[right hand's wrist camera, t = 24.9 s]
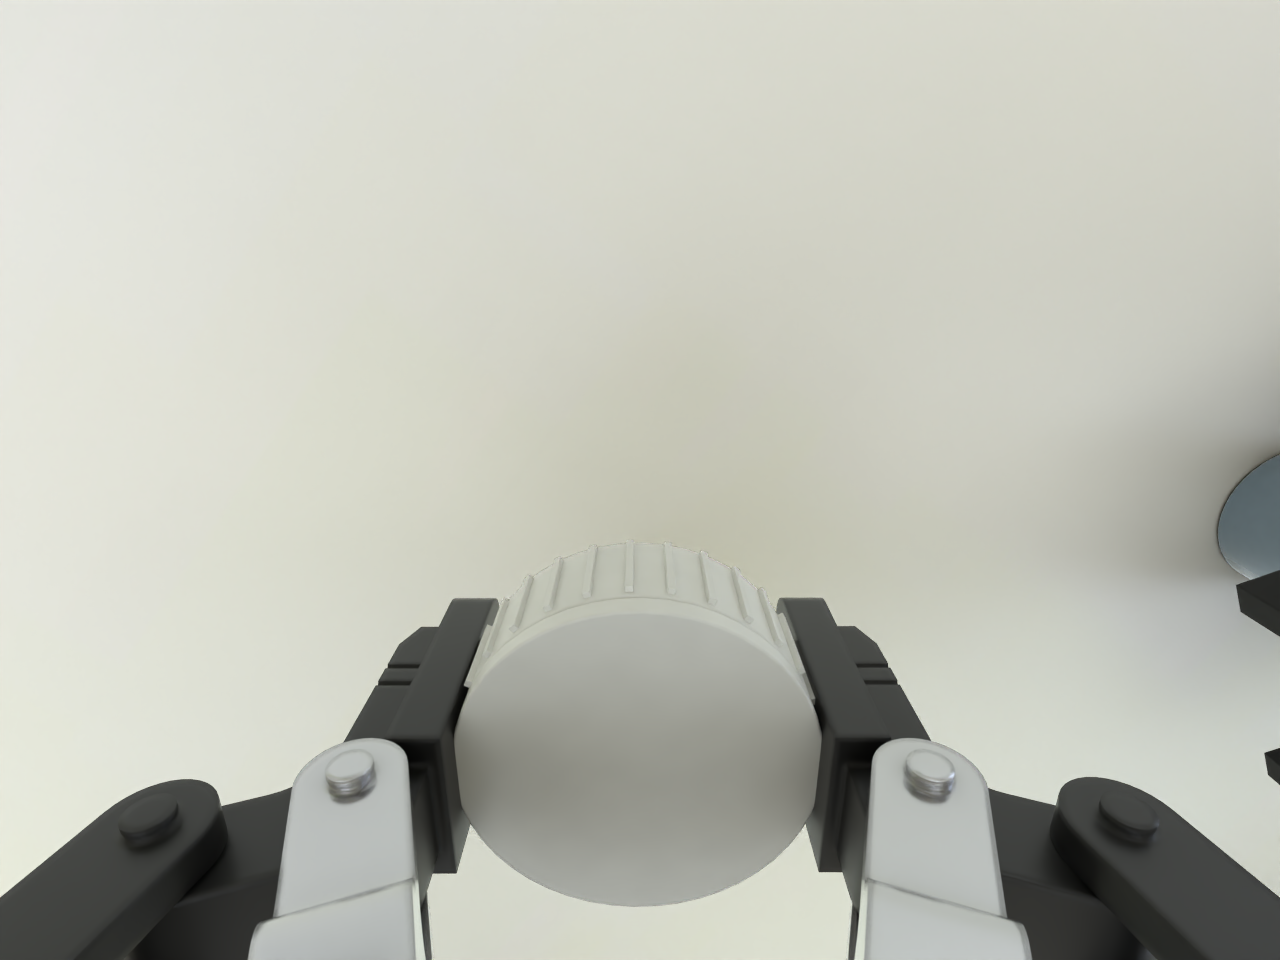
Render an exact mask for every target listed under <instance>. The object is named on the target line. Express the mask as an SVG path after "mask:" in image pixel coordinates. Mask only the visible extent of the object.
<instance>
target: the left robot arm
mask: <svg viewBox="0 0 1280 960" xmlns="http://www.w3.org/2000/svg"><path fill="white" fill-rule="evenodd" d="M1236 587H1237V593H1238V599H1239V605H1240V611H1241V612H1242V613H1244V614H1245V615H1247V616H1248V617H1250V618H1251V619H1253V620H1255V621H1256V622H1258V623H1259V624H1261V625H1262V626H1264V627H1266V628H1267V629H1269V630H1270V631H1272V632H1273V633H1275V634H1277V635H1278V636H1280V570H1278V571H1275V572H1272V573H1269V574H1266V575H1263V576H1261V577H1258V578H1255V579H1252V580H1249V581H1246V582H1243V583H1241V584H1238V585H1236ZM1265 759H1266V765H1267V771H1268V775H1269V776H1270V777H1271V778H1272V779H1274V780H1275V781H1276V782H1277V783H1278V784H1279V785H1280V748H1278V749H1275V750H1272V751H1269V752H1266V753H1265Z"/></svg>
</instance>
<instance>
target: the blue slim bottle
mask: <svg viewBox="0 0 1280 960" xmlns="http://www.w3.org/2000/svg"><path fill="white" fill-rule="evenodd" d="M1218 541H1219V547H1220V549H1221V552H1222V554H1223V556H1224V558H1225V560H1226V561H1227V562H1228V564H1229V565H1230V566H1231V567H1232V568H1233V569H1234V570H1236V571H1237V572H1238V573H1240V574H1242V575H1243V576H1245V577H1247V578H1249V579H1250V580H1252V579H1255V578H1258V577H1261V576H1263V575H1266V574H1269V573H1272V572H1275V571H1278V570H1280V454H1279V455H1277V456H1275V457H1273V458H1271V459H1269V460H1267V461H1266V462H1264V463H1263V464H1261V465H1260V466H1258V467H1257V468H1256V469H1254V470H1253V471H1252V472H1250V473H1249V474H1248V475H1247V476H1246V477H1245V478H1244V479H1243V480H1242V481H1241V482H1240V483H1239V484H1238V486H1237V487H1236V488H1235V489H1234V491H1233V492H1232V494H1231V495H1230V497H1229V498H1228V500H1227V502H1226V504H1225V506H1224V508H1223V510H1222V513H1221V516H1220V520H1219V525H1218Z"/></svg>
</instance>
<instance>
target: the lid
mask: <svg viewBox="0 0 1280 960" xmlns="http://www.w3.org/2000/svg"><path fill="white" fill-rule="evenodd" d="M464 686H466V687H469V690H468V693H467V696H466V698H465V701H464V704H463V707H462V709H461V712H460V715H459V718H458V721H457V724H456V727H455V731H454V747H455V756H456V765H457V773H458V782H459V790H460V798H461V805H462V808H463V810H464V812H465V814H466V816H467V818H468V820H469V822H470V824H471V825H472V827H473V828H474V829H475V831H476V832H477V834H478V835H479V836H480V838H481V839H482V840H483V841H484V842H485V844H486V845H487V846H488V847H489V848H490V849H491V850H492V851H493V852H494V853H495V854H496V855H497V856H498V857H499V858H501V859H502V860H503V861H504V862H505V863H507V864H508V865H509V866H510V867H512V868H513V869H515V870H516V871H518V872H519V873H521V874H522V875H524V876H525V877H527V878H528V879H530V880H532V881H534V882H536V883H538V884H540V885H542V886H544V887H546V888H548V889H551V890H554V891H556V892H559V893H562V894H564V895H567V896H570V897H574V898H578V899H581V900H585V901H589V902H595V903H601V904H607V905H615V906H631V907H641V906H660V905H668V904H676V903H681V902H686V901H690V900H695V899H699V898H702V897H705V896H708V895H711V894H714V893H717V892H720V891H723V890H725V889H727V888H729V887H731V886H734V885H736V884H738V883H740V882H742V881H744V880H745V879H747V878H749V877H750V876H752V875H754V874H755V873H757V872H759V871H760V870H761V869H763V868H764V867H765V866H767V865H768V864H769V863H771V862H772V861H773V860H774V859H775V858H777V857H778V856H779V855H780V854H781V853H782V852H783V851H784V850H785V849H786V848H787V847H788V846H789V845H790V844H791V842H792V841H793V840H794V839H795V837H796V836H797V835H798V834H799V832H800V831H801V830H802V828H803V826H804V825H805V823H806V821H807V820H808V818H809V816H810V814H811V813H812V810H813V808H814V803H815V796H816V787H817V778H818V769H819V760H820V752H821V742H822V732H821V728H820V724H819V721H818V717H817V714H816V711H815V709H814V706H813V705H815V696H814V694H813V691H812V688H811V685H810V683H809V680H808V677H807V674H806V672H805V669H804V666H803V664H802V661H801V658H800V655H799V653H798V650H797V647H796V644H795V642H794V640H793V637H792V634H791V631H790V629H789V626H788V623H787V621H786V618H785V616H784V614H783V613H780V614H777V613H776V611H775V610H774V608H773V607H772V605H771V604H770V602H769V599H768V596H767V593H766V591H765V590H764V589H763V588H762V587H761V588H760V589H757V588H756V587H755V586H754V585H752V584H751V583H750V582H749V581H748V580H747V579H745V578H744V577H743V576H742V575H741V573H740V569H738V568H737V567H735V566H734V567H733V568H732V569H731V568H729V567H728V566H726V565H724V564H722V563H720V562H718V561H716V560H714V559H712V558H710V557H708V553H707V552H704V551H702V550H701V551H700V553H697V552H694V551H691V550H688V549H684V548H679V547H674V546H672V543H671V542H664V544H653V543H634V540H626V543H620V544H614V545H607V546H601V547H597V546H596V545H591V546H589V550H586V551H582V552H579V553H576V554H574V555H572V556H569V557H567V558H564V559H562V558H561V556H560V557H558V558H556V559H554V563H553V564H552V565H551V566H549V567H547V568H545V569H544V570H542V571H540V572H539V573H538V574H536V575H535V576H534V577H532V576H531V575H528V576H527V577H526V578H525V579H524V582H523V585H522V587H521V588H520V589H519V590H518V591H517V592H516V593H515V594H514V595H513V596H512V597H511V598H510V599H509V600H508V599H507V598H504V599H503V601H502V602H501V604H500V607H499V610H498V612H497V615H496V618H495V621H494V624H493V626H490V625H487V626H486V628H485V631H484V633H483V636H482V639H481V641H480V644H479V647H478V649H477V652H476V655H475V657H474V660H473V662H472V665H471V668H470V670H469V673H468V676H467V678H466V681H465V684H464Z"/></svg>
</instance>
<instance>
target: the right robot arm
mask: <svg viewBox="0 0 1280 960" xmlns="http://www.w3.org/2000/svg"><path fill="white" fill-rule="evenodd" d="M498 610H499V603H498V600H497V599H496V598H455V599H453V600H452V602H451V603H450V605H449V607H448V609H447V611H446V614H445V616H444V618H443V620H442V622H441V624H440V626H439V627H421V628H419V629H418V630H417V631H416V632H414V633H413V634H412V635H411V636H409V637H408V638H407V639H405V640H404V641H403V642H402V643H400V644H399V646H398V648H397V649H396V651H395V653H394V655H393V656H392V658H391V660H390V662H389V663H388V668H386V669H385V670H384V672H383V674H382V676H381V677H380V679H379V681H378V686H375V688H374V690H373V691H372V693H371V695H370V697H369V699H368V700H367V702H366V704H365V706H364V707H363V709H362V711H361V713H360V714H359V716H358V718H357V720H356V721H355V723H354V725H353V727H352V728H351V730H350V732H349V734H348V735H347V737H346V739H345V741H344V742H343V743H341V744H339V745H336V746H333V747H331V748H329V749H327V750H325V751H324V752H322V753H321V754H319V755H317V756H316V757H315V758H313V759H312V760H311V761H310V762H309V763H308V764H307V765H306V766H305V767H304V768H303V769H302V770H301V771H300V773H299V774H298V775H297V777H296V779H295V781H294V783H293V787H291V788H288V789H286V790H283V791H281V792H277V793H274V794H270V795H266V796H262V797H258V798H254V799H250V800H245V801H241V802H237V803H233V804H229V805H225V806H221V803H220V800H219V796H218V794H217V791H216V790H215V789H214V788H213V786H211V785H210V784H208V783H206V782H203V781H200V780H193V779H181V780H173V781H168V782H164V783H160V784H157V785H154V786H150V787H148V788H145V789H143V790H141V791H138V792H136V793H134V794H132V795H130V796H128V797H126V798H125V799H123V800H121V801H120V802H118V803H117V804H115V805H114V806H112V807H111V808H110V809H108V810H107V811H106V812H104V813H103V814H102V815H101V816H99V817H98V818H97V819H96V820H94V821H93V822H92V823H91V824H90V825H88V826H87V827H86V828H85V829H83V830H82V831H81V832H80V833H79V834H77V835H76V836H75V837H74V838H72V839H71V840H70V841H69V842H68V843H66V844H65V845H64V846H63V847H62V848H60V849H59V850H58V851H57V852H55V853H54V854H53V855H52V856H51V857H49V858H48V859H47V860H46V861H44V862H43V863H42V864H41V865H40V866H38V867H37V868H36V869H35V870H33V871H32V872H31V873H30V874H29V875H27V876H26V877H25V878H24V879H22V880H21V881H20V882H19V883H18V884H16V885H15V886H14V887H13V888H11V889H10V890H9V891H8V892H7V893H5V894H4V895H3V896H2V897H0V960H434V954H433V942H432V929H431V917H430V909H429V902H428V895H427V889H428V886H429V883H430V880H431V877H432V874H433V873H457V870H458V866H459V863H460V859H461V855H462V852H463V848H464V845H465V841H466V838H467V834H468V831H469V827H470V822H469V820H468V818H467V816H466V814H465V812H464V810H463V808H462V805H461V798H460V790H459V782H458V773H457V765H456V756H455V747H454V731H455V727H456V724H457V721H458V718H459V715H460V712H461V709H462V707H463V704H464V701H465V698H466V696H467V693H468V690H469V687H466V686H464V684H465V681H466V678H467V676H468V673H469V670H470V668H471V665H472V662H473V660H474V657H475V655H476V652H477V649H478V647H479V644H480V641H481V639H482V636H483V633H484V631H485V628H486V626H487V625H490V626H493V624H494V621H495V618H496V615H497V612H498ZM776 613H777V614H780V613H783V614H784V616H785V618H786V621H787V623H788V626H789V629H790V631H791V634H792V637H793V640H794V642H795V644H796V647H797V650H798V653H799V655H800V658H801V661H802V664H803V666H804V669H805V672H806V674H807V677H808V680H809V683H810V685H811V688H812V691H813V694H814V696H815V705H813V706H814V709H815V711H816V714H817V717H818V721H819V724H820V728H821V732H822V742H821V752H820V760H819V769H818V778H817V787H816V796H815V803H814V808H813V810H812V813H811V814H810V816H809V818H808V820H807V821H806V827H807V831H808V834H809V838H810V842H811V845H812V849H813V852H814V856H815V860H816V863H817V867H818V871H819V872H843V875H844V878H845V882H846V885H847V888H848V891H849V894H850V898H851V900H852V902H851V909H850V917H849V929H848V942H847V954H846V960H1280V897H1278V896H1277V895H1276V894H1275V893H1273V892H1272V891H1271V890H1270V889H1269V888H1267V887H1266V886H1265V885H1264V884H1262V883H1261V882H1260V881H1259V880H1258V879H1256V878H1255V877H1254V876H1253V875H1251V874H1250V873H1249V872H1248V871H1247V870H1245V869H1244V868H1243V867H1242V866H1240V865H1239V864H1238V863H1237V862H1236V861H1234V860H1233V859H1232V858H1231V857H1229V856H1228V855H1227V854H1226V853H1225V852H1223V851H1222V850H1221V849H1220V848H1218V847H1217V846H1216V845H1215V844H1214V843H1212V842H1211V841H1210V840H1209V839H1207V838H1206V837H1205V836H1204V835H1203V834H1201V833H1200V832H1199V831H1198V830H1196V829H1195V828H1194V827H1193V826H1192V825H1190V824H1189V823H1188V822H1187V821H1186V820H1184V819H1183V818H1182V817H1181V816H1179V815H1178V814H1177V813H1176V812H1175V811H1173V810H1172V809H1171V808H1169V807H1168V806H1167V805H1165V804H1164V803H1163V802H1161V801H1160V800H1158V799H1156V798H1155V797H1153V796H1151V795H1150V794H1148V793H1146V792H1144V791H1142V790H1140V789H1137V788H1135V787H1133V786H1130V785H1128V784H1125V783H1121V782H1118V781H1115V780H1110V779H1106V778H1098V777H1083V778H1077V779H1074V780H1071V781H1069V782H1068V783H1066V784H1065V785H1064V786H1063V787H1062V788H1061V790H1060V793H1059V796H1058V799H1057V803H1056V806H1055V805H1051V804H1047V803H1043V802H1039V801H1034V800H1030V799H1026V798H1022V797H1018V796H1014V795H1009V794H1005V793H1002V792H998V791H995V790H992V789H989V788H988V787H987V783H986V781H985V779H984V777H983V775H982V774H981V773H980V771H979V770H978V769H977V768H976V767H975V766H974V765H973V764H972V763H971V762H970V761H969V760H968V759H967V758H965V757H964V756H963V755H961V754H959V753H958V752H956V751H955V750H953V749H951V748H949V747H947V746H944V745H941V744H939V743H936V742H932V741H931V740H930V738H929V736H928V734H927V733H926V731H925V729H924V727H923V725H922V724H921V722H920V720H919V718H918V716H917V715H916V713H915V711H914V709H913V708H912V706H911V704H910V702H909V700H908V699H907V697H906V695H905V693H904V691H903V690H902V688H901V686H900V685H898V684H897V679H896V677H895V675H894V674H893V672H892V670H891V668H888V663H887V661H886V659H885V658H884V656H883V654H882V652H881V650H880V649H879V647H878V645H877V643H875V642H874V641H873V640H871V639H870V638H869V637H868V636H866V635H865V634H864V633H863V632H861V631H860V630H859V629H858V628H856V627H855V626H837V625H836V623H835V621H834V619H833V617H832V615H831V613H830V611H829V608H828V606H827V604H826V602H825V601H824V599H823V598H780V599H779V601H778V604H777V611H776Z"/></svg>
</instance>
